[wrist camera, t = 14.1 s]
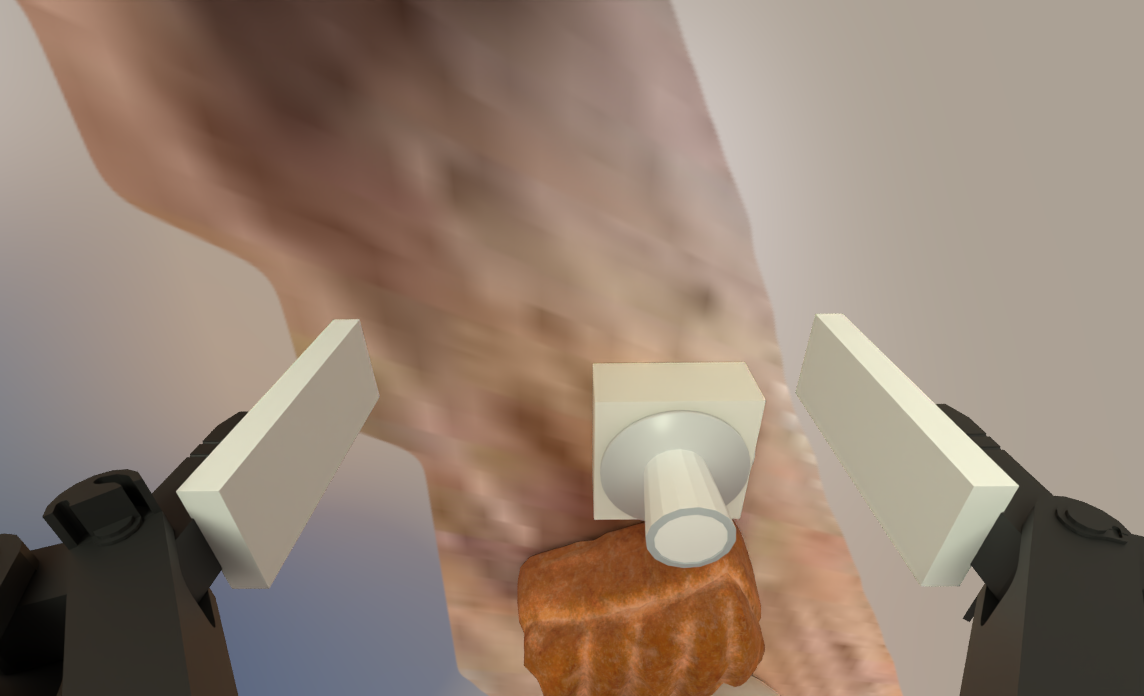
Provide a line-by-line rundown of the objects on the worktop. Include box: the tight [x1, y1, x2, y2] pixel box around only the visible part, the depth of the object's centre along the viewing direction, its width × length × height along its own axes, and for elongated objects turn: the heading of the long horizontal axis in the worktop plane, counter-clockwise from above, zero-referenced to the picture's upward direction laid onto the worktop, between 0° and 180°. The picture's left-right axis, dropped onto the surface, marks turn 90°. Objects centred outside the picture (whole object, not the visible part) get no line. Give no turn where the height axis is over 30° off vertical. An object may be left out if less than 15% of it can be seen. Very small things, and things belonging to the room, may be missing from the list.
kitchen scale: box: [592, 362, 766, 521], centre depth 47 cm, size 15×14×7 cm
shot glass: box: [643, 449, 736, 568], centre depth 41 cm, size 7×7×7 cm
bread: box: [518, 519, 765, 696], centre depth 54 cm, size 14×26×16 cm, turn 113°
